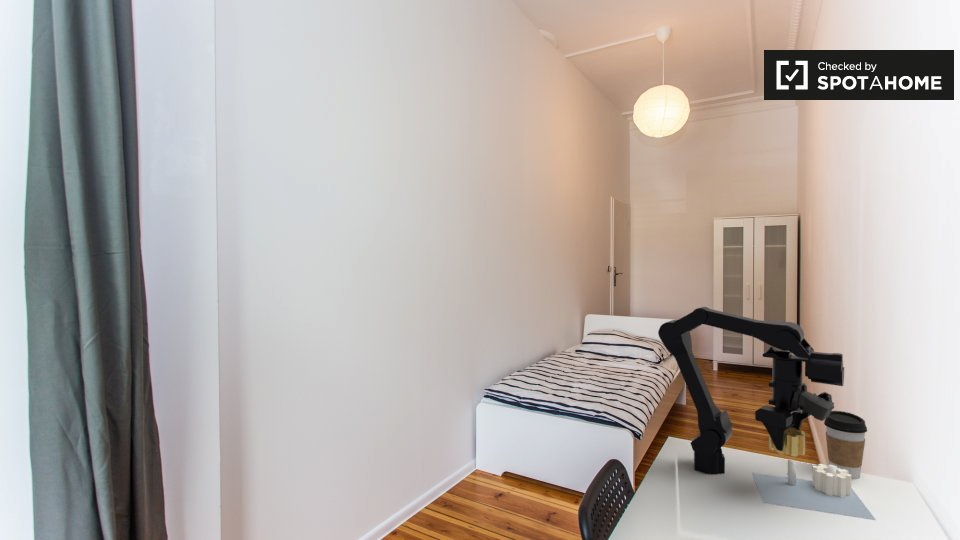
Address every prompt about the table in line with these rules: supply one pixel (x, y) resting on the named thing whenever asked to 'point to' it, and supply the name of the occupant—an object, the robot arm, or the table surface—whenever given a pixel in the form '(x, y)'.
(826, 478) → the cream gear
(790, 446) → the brass gear
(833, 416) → the coffee cup
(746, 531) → the table surface
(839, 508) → the gear board
